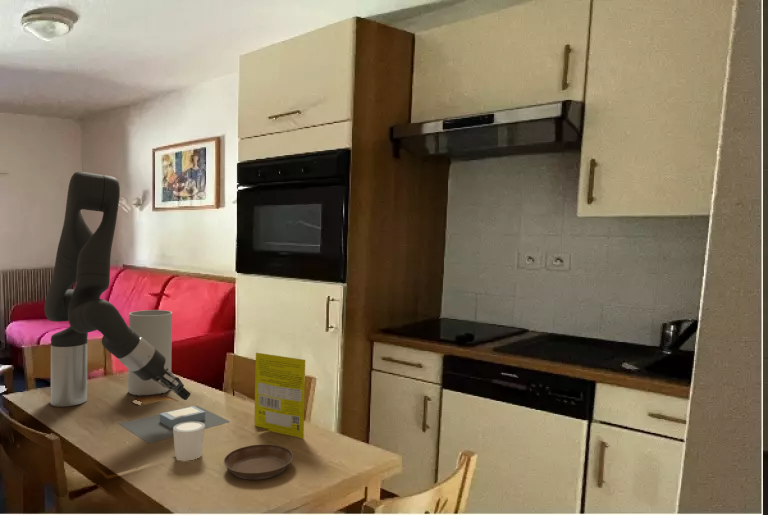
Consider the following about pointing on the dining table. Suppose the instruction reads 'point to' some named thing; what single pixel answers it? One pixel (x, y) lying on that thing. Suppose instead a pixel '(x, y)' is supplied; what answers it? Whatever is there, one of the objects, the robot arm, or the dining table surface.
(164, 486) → the dining table surface
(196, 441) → the white tapered cup
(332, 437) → the dining table surface
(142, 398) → the parchment
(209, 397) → the dining table surface
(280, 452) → the saucer
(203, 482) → the dining table surface
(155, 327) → the cylinder vase
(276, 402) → the food package
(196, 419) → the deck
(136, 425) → the mat
